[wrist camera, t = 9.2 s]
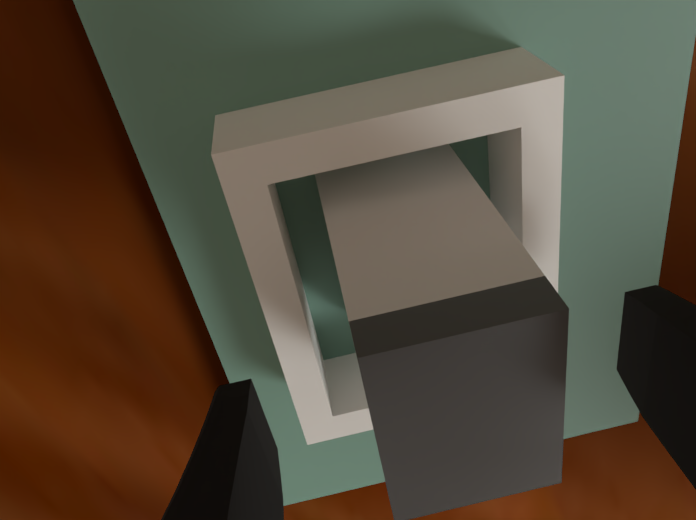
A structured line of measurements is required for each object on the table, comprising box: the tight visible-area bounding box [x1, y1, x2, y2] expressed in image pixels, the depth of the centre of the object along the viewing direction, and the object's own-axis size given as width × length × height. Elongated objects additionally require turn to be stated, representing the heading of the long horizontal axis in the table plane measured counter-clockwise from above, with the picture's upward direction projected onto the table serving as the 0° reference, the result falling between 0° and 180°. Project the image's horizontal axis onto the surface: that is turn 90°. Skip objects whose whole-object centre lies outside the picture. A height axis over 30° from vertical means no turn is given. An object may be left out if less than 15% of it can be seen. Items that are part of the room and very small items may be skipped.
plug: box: [315, 144, 569, 520], centre depth 12 cm, size 4×3×6 cm
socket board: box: [73, 0, 696, 506], centre depth 14 cm, size 18×12×3 cm, turn 10°
